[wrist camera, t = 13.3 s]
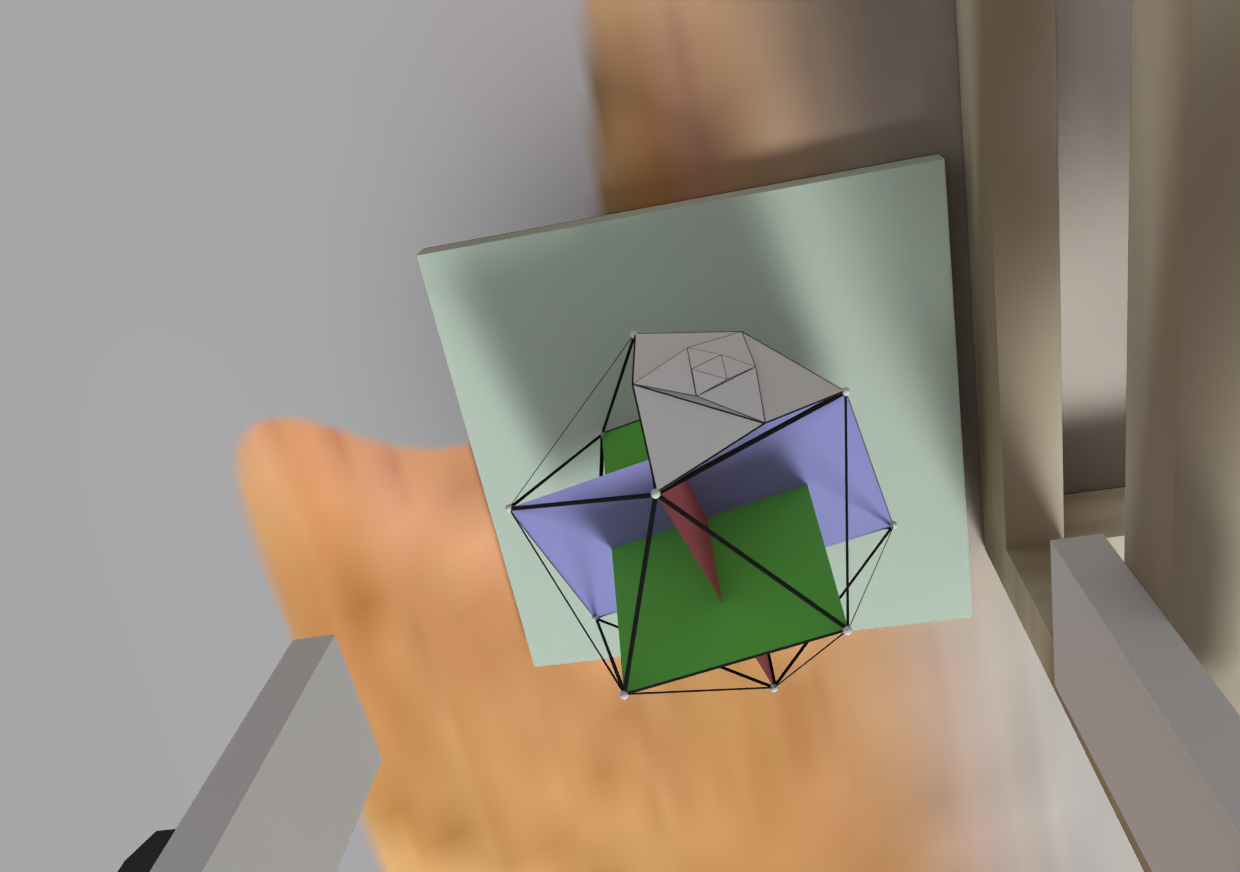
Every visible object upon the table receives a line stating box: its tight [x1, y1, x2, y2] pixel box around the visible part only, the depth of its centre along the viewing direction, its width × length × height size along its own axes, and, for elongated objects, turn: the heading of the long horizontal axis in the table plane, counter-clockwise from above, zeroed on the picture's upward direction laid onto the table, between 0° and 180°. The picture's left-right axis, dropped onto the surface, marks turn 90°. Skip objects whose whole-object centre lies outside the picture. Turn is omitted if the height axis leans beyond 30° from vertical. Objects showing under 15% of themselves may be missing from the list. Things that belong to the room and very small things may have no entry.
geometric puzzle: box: [505, 330, 898, 699], centre depth 20 cm, size 7×7×8 cm
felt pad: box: [416, 154, 973, 667], centre depth 23 cm, size 11×11×1 cm
